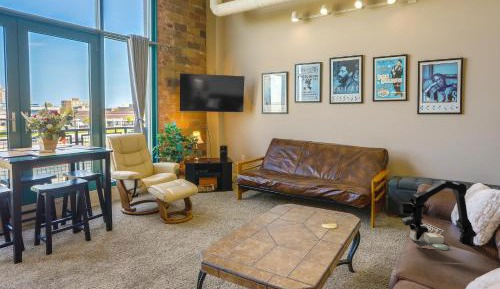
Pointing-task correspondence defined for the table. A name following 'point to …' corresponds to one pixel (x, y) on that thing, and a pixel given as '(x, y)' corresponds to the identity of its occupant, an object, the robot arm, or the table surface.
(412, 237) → the cream block
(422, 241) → the mat
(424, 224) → the crown molding
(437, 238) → the cream labeled box
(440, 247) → the coaster
